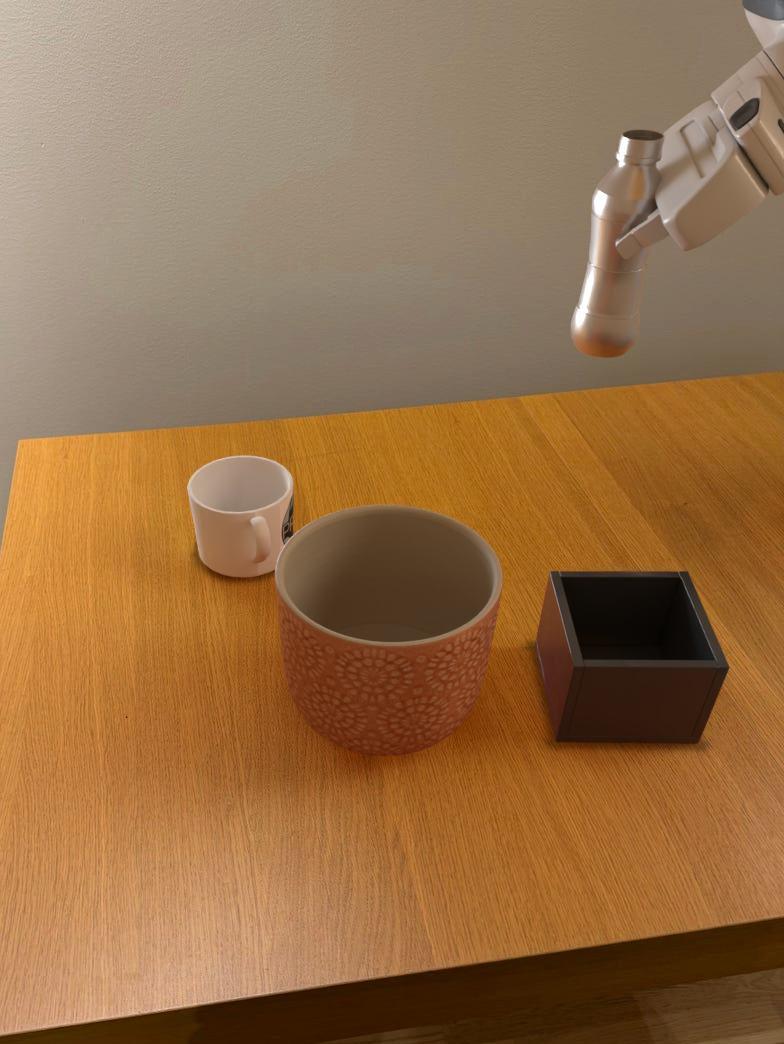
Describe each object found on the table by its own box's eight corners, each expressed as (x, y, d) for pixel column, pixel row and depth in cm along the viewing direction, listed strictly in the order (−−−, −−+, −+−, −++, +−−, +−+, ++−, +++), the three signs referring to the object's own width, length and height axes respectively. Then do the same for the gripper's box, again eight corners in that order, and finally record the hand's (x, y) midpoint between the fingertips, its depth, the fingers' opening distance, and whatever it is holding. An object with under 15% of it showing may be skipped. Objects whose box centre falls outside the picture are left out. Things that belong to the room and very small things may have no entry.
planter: (443, 627, 86) (458, 490, 76) (511, 764, 74) (540, 623, 64) (266, 656, 84) (256, 520, 74) (306, 803, 72) (300, 664, 61)
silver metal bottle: (616, 372, 91) (664, 151, 77) (554, 353, 94) (590, 138, 80) (644, 348, 94) (696, 132, 80) (584, 330, 97) (623, 120, 84)
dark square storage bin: (663, 646, 84) (688, 570, 78) (698, 743, 75) (729, 667, 69) (534, 646, 84) (549, 570, 78) (555, 742, 76) (574, 666, 70)
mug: (185, 531, 98) (176, 466, 93) (279, 511, 101) (276, 447, 95) (216, 608, 89) (208, 541, 84) (318, 585, 91) (317, 518, 86)
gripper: (718, 63, 84) (589, 175, 92) (761, 126, 70) (603, 252, 78) (754, 118, 87) (625, 222, 95) (803, 190, 72) (646, 306, 80)
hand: (615, 236), depth 86 cm, fingers closed on silver metal bottle, 6 cm apart
